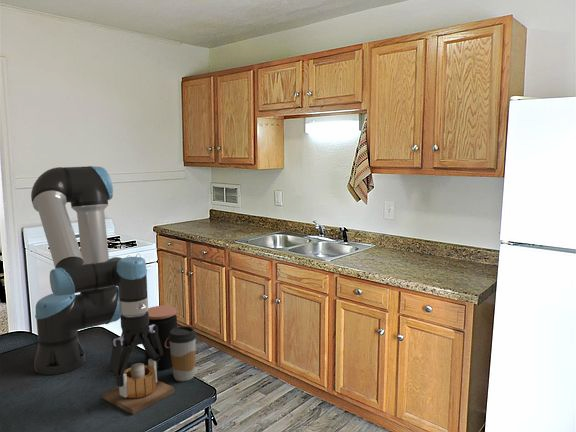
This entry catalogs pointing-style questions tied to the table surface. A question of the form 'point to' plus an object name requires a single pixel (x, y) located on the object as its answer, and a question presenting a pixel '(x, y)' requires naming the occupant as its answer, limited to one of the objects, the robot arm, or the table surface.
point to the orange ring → (141, 383)
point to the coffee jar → (162, 332)
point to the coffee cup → (183, 352)
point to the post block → (141, 402)
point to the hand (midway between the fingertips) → (138, 388)
